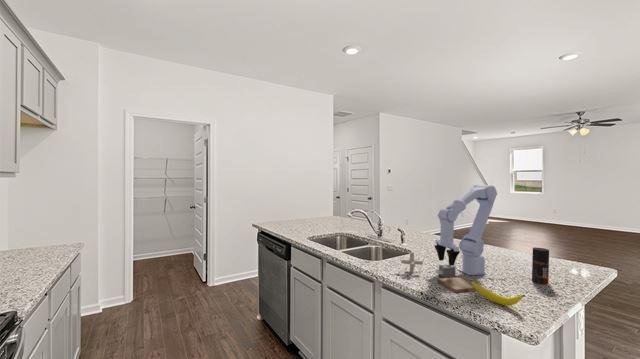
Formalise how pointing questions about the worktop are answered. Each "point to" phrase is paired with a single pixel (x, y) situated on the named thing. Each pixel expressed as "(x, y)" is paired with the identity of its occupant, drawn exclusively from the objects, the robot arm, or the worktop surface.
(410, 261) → the pipe connector
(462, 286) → the board
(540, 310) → the worktop surface
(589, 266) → the worktop surface
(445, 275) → the plug
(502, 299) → the banana
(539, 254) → the deodorant
